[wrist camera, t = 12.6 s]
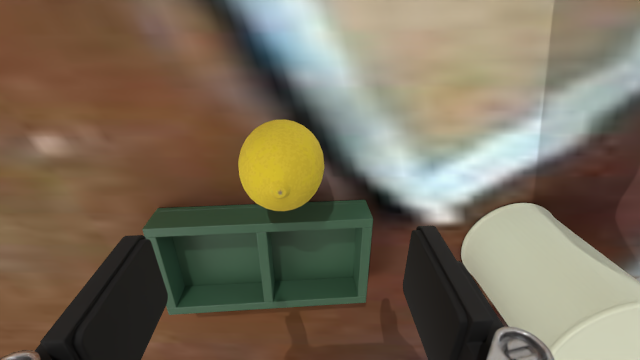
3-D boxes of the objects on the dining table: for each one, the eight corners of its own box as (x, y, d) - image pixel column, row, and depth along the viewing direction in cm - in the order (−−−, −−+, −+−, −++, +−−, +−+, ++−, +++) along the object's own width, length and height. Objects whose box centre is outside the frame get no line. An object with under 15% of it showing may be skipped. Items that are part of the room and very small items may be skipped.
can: (453, 282, 32) (531, 410, 22) (469, 205, 28) (576, 318, 18) (539, 275, 33) (657, 397, 22) (567, 198, 29) (730, 304, 18)
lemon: (316, 176, 26) (324, 235, 19) (247, 173, 25) (229, 232, 18) (322, 109, 23) (335, 148, 16) (247, 104, 23) (225, 141, 16)
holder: (157, 207, 26) (141, 229, 23) (365, 199, 27) (373, 218, 24) (180, 288, 30) (168, 315, 27) (359, 278, 31) (365, 302, 29)
